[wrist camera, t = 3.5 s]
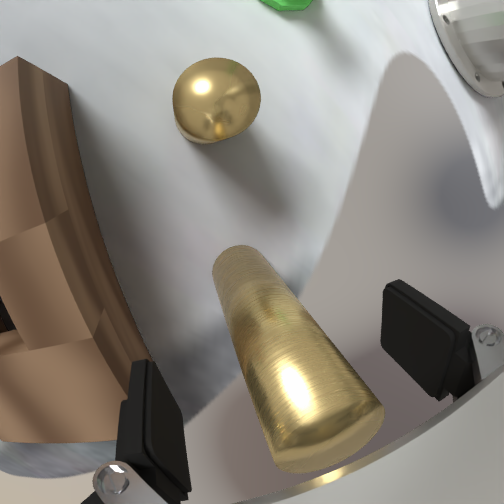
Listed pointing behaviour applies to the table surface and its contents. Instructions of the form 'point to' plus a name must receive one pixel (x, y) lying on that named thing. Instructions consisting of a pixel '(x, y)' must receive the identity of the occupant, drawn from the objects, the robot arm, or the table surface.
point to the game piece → (288, 4)
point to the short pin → (215, 100)
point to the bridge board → (55, 277)
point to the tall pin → (292, 368)
